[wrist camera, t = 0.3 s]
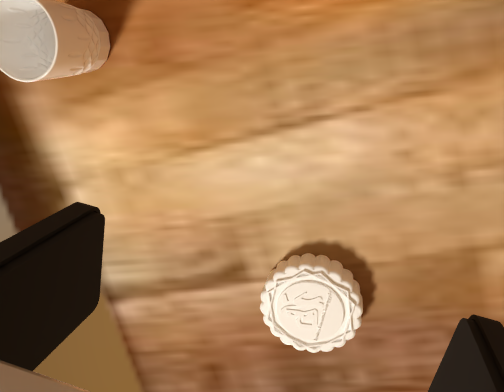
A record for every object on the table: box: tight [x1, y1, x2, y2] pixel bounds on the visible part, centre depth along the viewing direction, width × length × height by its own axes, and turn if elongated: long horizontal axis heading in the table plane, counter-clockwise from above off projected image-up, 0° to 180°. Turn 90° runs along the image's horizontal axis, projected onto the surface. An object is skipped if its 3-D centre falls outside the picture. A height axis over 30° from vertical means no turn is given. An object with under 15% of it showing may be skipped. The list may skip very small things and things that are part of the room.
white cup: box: [0, 0, 110, 82], centre depth 43 cm, size 8×8×10 cm
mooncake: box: [260, 253, 363, 353], centre depth 50 cm, size 12×12×4 cm
